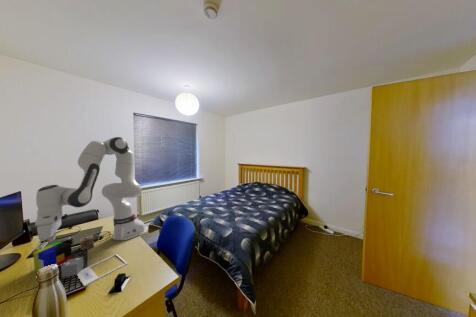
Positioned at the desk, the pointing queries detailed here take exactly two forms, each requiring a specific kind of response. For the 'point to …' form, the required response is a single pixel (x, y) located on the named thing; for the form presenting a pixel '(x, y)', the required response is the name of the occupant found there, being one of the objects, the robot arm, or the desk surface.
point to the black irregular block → (119, 283)
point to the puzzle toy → (52, 255)
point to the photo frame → (89, 276)
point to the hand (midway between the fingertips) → (52, 240)
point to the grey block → (72, 267)
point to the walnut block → (87, 242)
